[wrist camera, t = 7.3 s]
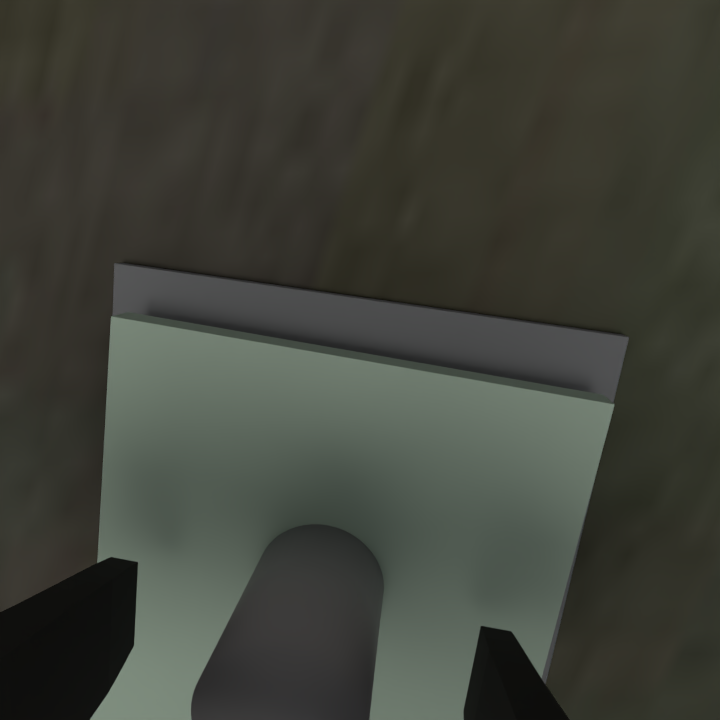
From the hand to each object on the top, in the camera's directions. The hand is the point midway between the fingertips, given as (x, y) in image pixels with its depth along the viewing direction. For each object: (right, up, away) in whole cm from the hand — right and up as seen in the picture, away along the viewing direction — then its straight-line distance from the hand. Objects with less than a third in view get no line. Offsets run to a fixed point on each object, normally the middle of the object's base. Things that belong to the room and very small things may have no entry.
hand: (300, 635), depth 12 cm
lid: (0, 0, +4) cm, 4 cm away
